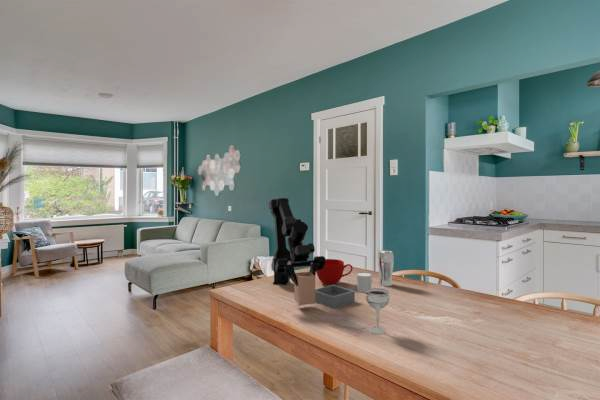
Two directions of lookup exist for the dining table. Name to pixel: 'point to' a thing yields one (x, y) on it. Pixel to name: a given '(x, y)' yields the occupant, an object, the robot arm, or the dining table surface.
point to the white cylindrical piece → (364, 281)
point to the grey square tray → (334, 296)
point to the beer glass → (385, 267)
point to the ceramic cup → (332, 272)
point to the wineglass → (377, 304)
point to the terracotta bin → (305, 288)
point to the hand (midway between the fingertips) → (305, 284)
